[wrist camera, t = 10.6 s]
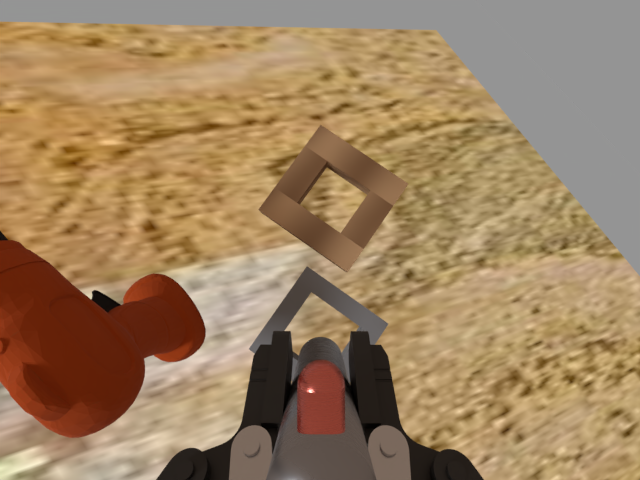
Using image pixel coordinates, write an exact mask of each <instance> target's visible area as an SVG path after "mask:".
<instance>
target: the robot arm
mask: <svg viewBox="0 0 640 480" xmlns="http://www.w3.org/2000/svg"><path fill="white" fill-rule="evenodd" d="M292 365H293V349H292V338H291V331H273V335H272V342H271V344H260V346H259V348H258V349H257V351H256V353H255V354H254V356H253V361H252V367H251V373H250V378H249V384H248V389H247V395H246V401H245V406H244V412H243V417H242V422H241V425H240V427H239V429H238V431H237V432H236V433H235V435H234V436H233V437H232V438H231V439H229V440H228V441H227V442H225V443H223V444H221V445H218V446H215V447H213V448H210V449H207V450H205V451H201V450H199V449H197V448H187V449H184V450H182V451H180V452H178V453H177V454H176V455H175V456H174V457H173V458H172V459H171V460H170V461H169V463H168V464H167V465H166V467H165V468H164V469H163V471H162V472H161V474H160V475H159V476H158V478H157V479H156V480H266V478H267V474H268V470H269V466H270V463H271V459H272V455H273V451H274V447H275V444H276V440H277V436H278V432H279V429H280V425H281V421H282V418H283V414H284V410H285V406H286V403H287V399H288V395H289V391H290V387H291V379H292ZM349 374H350V386H351V389H352V393H353V397H354V400H355V404H356V407H357V411H358V415H359V418H360V422H361V425H362V429H363V432H364V436H365V440H366V443H367V447H368V451H369V454H370V458H371V461H372V465H373V469H374V472H375V476H376V479H377V480H484V479H483V478H482V476H481V475H480V473H479V472H478V471H477V469H476V468H475V467H474V465H473V464H472V463H471V461H470V460H469V459H468V458H467V457H466V456H465V455H464V454H462V453H461V452H459V451H457V450H454V449H444V450H442V451H440V452H439V451H436V450H434V449H431V448H429V447H426V446H423V445H421V444H418V443H416V442H415V441H413V440H412V439H411V438H410V437H409V436H408V435H407V434H406V433H405V431H404V429H403V428H402V425H401V423H400V419H399V413H398V408H397V402H396V397H395V391H394V386H393V382H392V375H391V371H390V364H389V358H388V355H387V353H386V352H385V350H384V349H383V347H382V345H370V339H369V333H368V331H351V333H350V342H349Z"/></svg>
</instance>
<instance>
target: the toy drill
mask: <svg viewBox="0 0 640 480" xmlns="http://www.w3.org/2000/svg"><path fill="white" fill-rule="evenodd" d="M123 301H124V302H123V304H122V305H121V304H119V303H118V302H116V301H115V300H113V299H111V298H110V297H108V296H107V295H105V294H103V293H101V292H100V291H97V290H93V291H92V299H90V298H89V297H87V296H86V295H85V294H84V293H82V292H81V291H80V290H79V289H77V288H76V287H75V286H74V285H72V284H71V283H70V282H69V281H68V280H67V279H66V278H65V277H64V276H63V275H62V274H61V273H60V272H59V271H58V270H57V269H55V268H54V267H53V266H52V265H51V264H50V263H49V262H47V261H46V260H44V259H43V258H41V257H40V256H38V255H37V254H35V253H34V252H32V251H31V250H28V249H26V248H25V247H24V246H23V245H22V244H21V243H20V242H17V241H14V240H8V239H7V238H6V237H5V236H4V234H3V233H2V232H1V231H0V382H1V383H2V385H3V386H4V387H5V388H6V389H7V391H8V392H9V394H10V396H11V397H12V398H13V399H14V400H15V401H16V403H17V404H18V405H19V406H20V407H21V408H22V409H23V410H24V411H25V412H26V413H28V414H30V415H32V416H33V417H34V418H35V419H36V420H37V421H39V422H40V423H41V424H42V425H43V426H45V427H46V428H47V429H49V430H51V431H53V432H55V433H57V434H59V435H62V436H65V437H69V438H79V437H84V436H87V435H90V434H93V433H96V432H98V431H100V430H102V429H104V428H105V427H107V426H109V425H110V424H112V423H114V422H115V421H116V420H117V419H119V418H120V417H121V416H122V415H123V414H124V413H125V412H126V411H127V410H128V409H129V408H130V406H131V405H132V404H133V403H134V401H135V399H136V398H137V396H138V394H139V392H140V390H141V387H142V385H143V381H144V377H145V361H144V358H147V357H149V356H152V355H154V356H155V357H157V358H158V359H160V360H162V361H165V362H178V361H182V360H184V359H187V358H188V357H190V356H192V355H193V354H194V353H196V352H197V351H198V350H199V349H200V347H201V346H202V344H203V343H204V340H205V337H206V329H205V325H204V321H203V319H202V316H201V314H200V312H199V310H198V309H197V307H196V305H195V303H194V302H193V301H192V299H191V298H190V296H189V295H188V294H187V293H186V291H185V290H184V289H183V288H182V287H181V286H180V285H179V284H178V283H177V282H176V281H175V280H173V279H172V278H170V277H168V276H166V275H164V274H155V273H153V274H149V275H147V276H145V277H143V278H141V279H139V280H138V281H136V282H135V283H134V284H133V285H132V286H131V287H130V288H129V289H128V290H127V291H126V293H125V295H124V298H123Z"/></svg>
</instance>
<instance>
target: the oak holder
mask: <svg viewBox="0 0 640 480" xmlns="http://www.w3.org/2000/svg"><path fill="white" fill-rule="evenodd" d="M326 168H329V169H330V170H332V171H333V172H334V173H336V174H337V175H339V176H340V177H342V178H343V179H345V180H346V181H348V182H349V183H351V184H352V185H354V186H355V187H357V188H358V189H359V190H361V191H362V192H364V193H365V194H367V196H366V197H365V199H364V200H363V202H362V203H361V205H360V206H359V207H358V209H357V210H356V212H355V213H354V215H353V216H352V217H351V219H350V220H349V222H348V223H347V225H346V226H345V227H344V229H343V230H342V232H341V233H340V232H338V231H337V230H335V229H334V228H332V227H331V226H330V225H328V224H327V223H325V222H324V221H322V220H321V219H319V218H318V217H317V216H315V215H314V214H312V213H311V212H309V211H308V210H306V209H305V208H304V207H302V206H301V205H300V204H301V202H302V201H303V200H304V198H305V197H306V196H307V194H308V193H309V191H310V190H311V189H312V187H313V186H314V184H315V183H316V182H317V180H318V179H319V177H320V176H321V175H322V173H323V172H324V171H325V169H326ZM407 185H408V183H407V182H405V181H404V180H402V179H401V178H399V177H398V176H396V175H395V174H393V173H392V172H390V171H389V170H387V169H386V168H384V167H383V166H381V165H380V164H378V163H377V162H375V161H374V160H372V159H371V158H369V157H368V156H367V155H365V154H364V153H362V152H361V151H359V150H358V149H356V148H355V147H353V146H352V145H350V144H349V143H347V142H346V141H344V140H343V139H341V138H340V137H338V136H337V135H335V134H334V133H332V132H331V131H329V130H328V129H326V128H325V127H323V126H322V125H320V126H319V128H318V129H317V130H316V132H315V133H314V134H313V136H312V137H311V138H310V140H309V141H308V143H307V144H306V145H305V147H304V148H303V149H302V151H301V152H300V153H299V155H298V156H297V158H296V159H295V160H294V162H293V163H292V164H291V166H290V167H289V168H288V170H287V171H286V173H285V174H284V175H283V177H282V178H281V179H280V181H279V182H278V183H277V185H276V186H275V188H274V189H273V190H272V192H271V193H270V194H269V196H268V197H267V198H266V200H265V201H264V202H263V204H262V205H261V207H260V208H259V209H258V210H259V211H260V212H261V213H262V214H264V215H265V216H266V217H268V218H269V219H271V220H272V221H274V222H275V223H276V224H278V225H279V226H281V227H282V228H284V229H285V230H286V231H288V232H289V233H291V234H292V235H294V236H295V237H296V238H298V239H299V240H301V241H302V242H304V243H305V244H306V245H308V246H309V247H311V248H312V249H313V250H315V251H316V252H318V253H319V254H321V255H322V256H323V257H325V258H326V259H328V260H329V261H331V262H332V263H333V264H335V265H336V266H338V267H339V268H341V269H342V270H343V271H345V272H348V271H349V270H350V268H351V267H352V265H353V264H354V262H355V261H356V260H357V258H358V257H359V255H360V254H361V252H362V251H363V249H364V248H365V246H366V245H367V244H368V242H369V241H370V239H371V238H372V236H373V235H374V233H375V232H376V230H377V229H378V228H379V226H380V225H381V223H382V222H383V220H384V219H385V217H386V216H387V214H388V213H389V212H390V210H391V209H392V207H393V206H394V204H395V203H396V201H397V200H398V199H399V197H400V196H401V194H402V193H403V191H404V190H405V188H406V187H407Z"/></svg>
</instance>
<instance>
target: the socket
mask: <svg viewBox="0 0 640 480" xmlns="http://www.w3.org/2000/svg"><path fill="white" fill-rule="evenodd" d="M311 292H312V293H313V294H315V295H316V296H318V297H319V298H320V299H322V300H323V301H325V302H326V303H327V304H329V305H330V306H332V307H333V308H334V309H336V310H337V311H339V312H340V313H341V314H343V315H344V316H346V317H347V318H349V319H350V320H351V321H353V322H354V323H356V324H357V325H358V326H359V328H358V329H357V331H368V333H369V339H370V345H375V344H376V342H377V341H378V339H379V338H380V336H381V335H382V333H383V332H384V330H385V329H386V327H387V326H388V323H387V322H385V321H384V320H383V319H381V318H380V317H378V316H377V315H376V314H374V313H373V312H371V311H370V310H368V309H367V308H366V307H364V306H363V305H361V304H360V303H359V302H357V301H356V300H354V299H353V298H351V297H350V296H349V295H347V294H346V293H344V292H343V291H342V290H340V289H339V288H337V287H336V286H334V285H333V284H332V283H330V282H329V281H327V280H326V279H325V278H323V277H322V276H320V275H319V274H317V273H316V272H315V271H313V270H312V269H310V268H309V267H308V266H307V267H306V268H305V270H304V271H303V272H302V274H301V275H300V277H299V278H298V280H297V281H296V282H295V284H294V285H293V287H292V288H291V290H290V291H289V292H288V294H287V295H286V297H285V298H284V299H283V301H282V302H281V304H280V305H279V307H278V308H277V309H276V311H275V312H274V314H273V315H272V317H271V318H270V319H269V321H268V322H267V324H266V325H265V326H264V328H263V329H262V331H261V332H260V334H259V335H258V336H257V338H256V339H255V341H254V342H253V344H252V345H251V346H250V348H249V350H250V351H252V352H253V353H256V351H257V349H258V348H259V346H260V344H271V342H272V335H273V331H285V329H286V328H287V326H288V325H289V324H290V322H291V321H292V319H293V318H294V316H295V315H296V313H297V312H298V311H299V309H300V308H301V306H302V305H303V303H304V302H305V301H306V299H307V298H308V296H309V295H310V293H311ZM349 342H350V341H349ZM349 342H348V344H347V345H346V347H345V348H344V350H343V351H342V357H343V360H344V364H345V367H346V371H347V375H348V378H349V382H350V374H349ZM298 357H299V355H297V354H296V353H295V352H293V365H292V379H291V381H292V380H293V376H294V372H295V368H296V365H297V361H298Z"/></svg>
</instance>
